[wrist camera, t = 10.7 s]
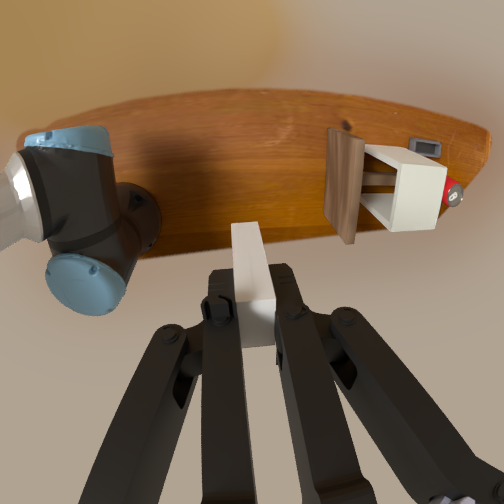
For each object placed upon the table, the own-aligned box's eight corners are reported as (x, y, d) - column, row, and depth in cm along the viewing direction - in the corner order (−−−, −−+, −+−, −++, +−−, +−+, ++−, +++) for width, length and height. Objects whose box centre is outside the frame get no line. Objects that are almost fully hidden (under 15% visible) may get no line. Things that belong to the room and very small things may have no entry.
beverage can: (431, 178, 51) (465, 199, 41) (416, 189, 53) (449, 213, 42) (425, 159, 49) (461, 178, 39) (409, 170, 50) (444, 191, 40)
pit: (408, 152, 48) (412, 154, 46) (409, 136, 46) (414, 138, 45) (434, 155, 48) (439, 157, 47) (436, 141, 47) (441, 142, 45)
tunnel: (356, 199, 53) (390, 232, 41) (361, 144, 47) (401, 163, 35) (396, 198, 53) (434, 229, 41) (403, 147, 47) (447, 167, 35)
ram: (323, 213, 54) (345, 244, 44) (327, 128, 45) (355, 139, 35) (407, 210, 55) (437, 236, 45) (417, 136, 46) (455, 150, 36)
